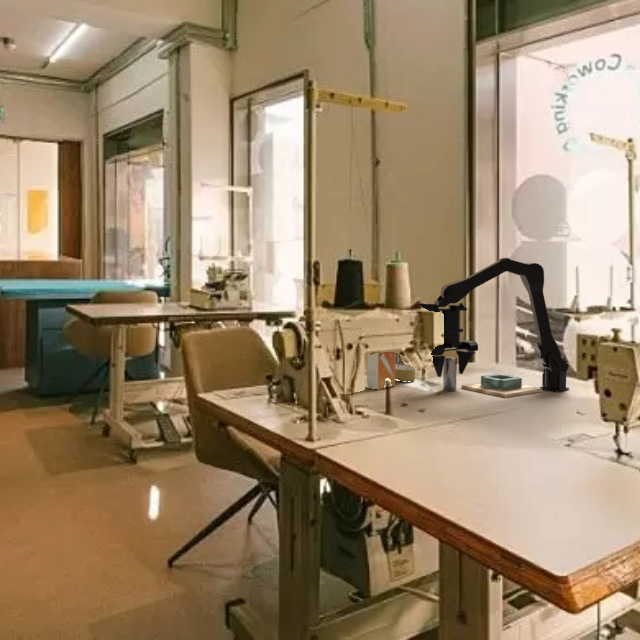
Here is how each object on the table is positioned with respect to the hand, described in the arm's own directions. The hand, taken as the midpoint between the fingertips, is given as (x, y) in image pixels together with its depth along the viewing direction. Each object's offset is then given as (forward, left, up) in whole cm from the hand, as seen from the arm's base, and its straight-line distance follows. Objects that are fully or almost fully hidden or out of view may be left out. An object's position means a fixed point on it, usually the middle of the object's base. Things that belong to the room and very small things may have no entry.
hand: (450, 375), depth 230 cm
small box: (+16, +15, -5) cm, 23 cm away
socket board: (-9, -13, -5) cm, 16 cm away
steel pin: (0, 0, -5) cm, 5 cm away
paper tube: (+20, +1, -5) cm, 21 cm away
